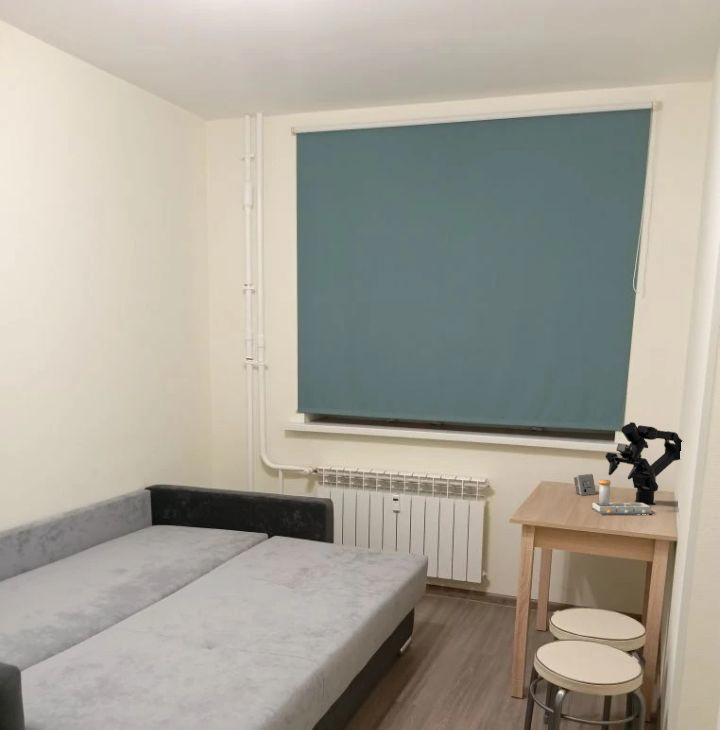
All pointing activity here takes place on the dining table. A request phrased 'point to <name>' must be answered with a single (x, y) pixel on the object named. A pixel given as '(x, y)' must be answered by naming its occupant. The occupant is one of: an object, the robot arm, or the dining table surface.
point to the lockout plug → (604, 492)
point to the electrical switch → (585, 484)
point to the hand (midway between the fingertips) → (618, 476)
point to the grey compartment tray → (622, 509)
